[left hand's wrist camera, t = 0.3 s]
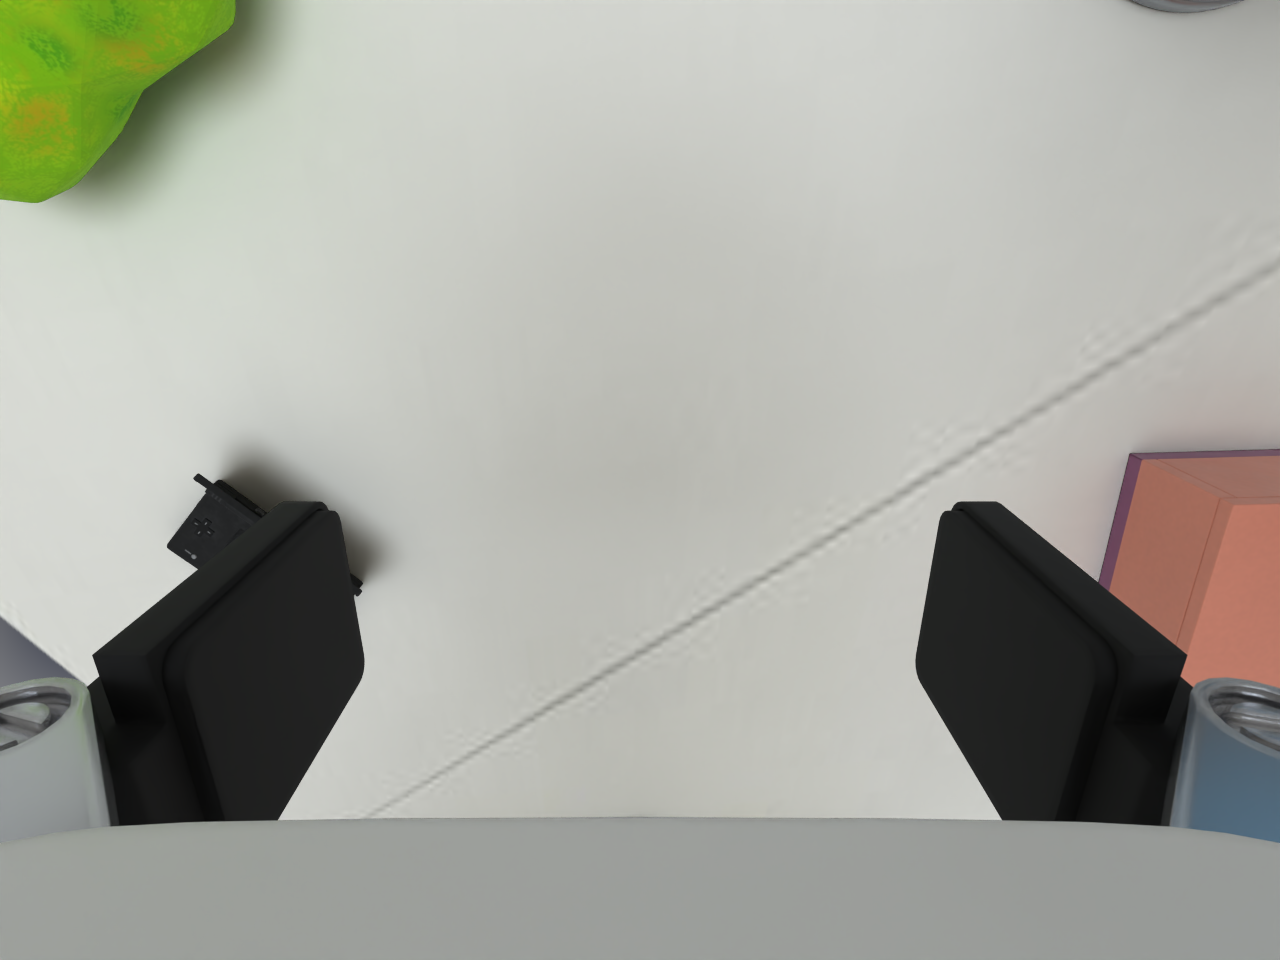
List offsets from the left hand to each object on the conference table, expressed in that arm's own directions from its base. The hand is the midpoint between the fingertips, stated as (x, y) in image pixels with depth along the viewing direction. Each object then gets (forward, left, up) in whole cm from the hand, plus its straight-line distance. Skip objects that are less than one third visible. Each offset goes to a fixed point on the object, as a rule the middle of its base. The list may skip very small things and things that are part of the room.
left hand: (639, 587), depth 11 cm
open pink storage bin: (-17, -36, -31) cm, 50 cm away
